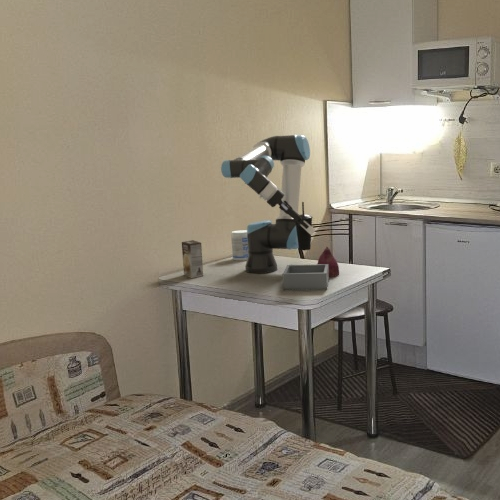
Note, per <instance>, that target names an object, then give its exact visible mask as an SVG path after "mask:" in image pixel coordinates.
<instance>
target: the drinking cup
mask: <svg viewBox="0 0 500 500" xmlns="http://www.w3.org/2000/svg"><path fill="white" fill-rule="evenodd" d="M304 203H305V202H304V201H302V202H301V211H302V214H299V216H300V217H301V218H302V219H304V220H305V221H306V222H307V223H308V224H309V225H310V226H311V227H313V216H311V215H309V214H305V204H304ZM295 223H296V231H297V238H298V246H299V248H298V250H299V251H310V250H311V245H312V235H310V234H309V233H308V232H307V231H306V230H305V229H304V228H303V227H302V226H300V225H299V226H298V223H297V222H296V221H295Z"/></svg>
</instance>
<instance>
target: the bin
mask: <svg viewBox="0 0 500 500" xmlns="http://www.w3.org/2000/svg"><path fill="white" fill-rule="evenodd" d="M329 282H330V277H329V266H328V264H317V263H316V264H315V263H314V264H287V265H286V267H285V268H284V270H283V273H282V286H283V287H282V288H283V291H327V290H328V288H327V287H329Z"/></svg>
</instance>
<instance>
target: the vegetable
mask: <svg viewBox="0 0 500 500" xmlns="http://www.w3.org/2000/svg"><path fill="white" fill-rule="evenodd" d="M316 264H328V266H329V278H334V277H337V276H339V275H340V267H339V264H338V261H337V260H336V258H335V256H334V255H333V253H332V252H331V249H330V248H329V247H328V246H326V247H325V248H324V249H323V251H322V252H321V254H320V256H319V257H318V260H317V263H316Z"/></svg>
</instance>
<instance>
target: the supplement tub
mask: <svg viewBox="0 0 500 500" xmlns="http://www.w3.org/2000/svg"><path fill="white" fill-rule="evenodd" d="M231 252H232V254H231V255H232V260H233V261H236V262H237V261H240V262H243V261H245V262H246V261H247V258H248V240H247V229H246V230H245V229H244V230H243V229H242V230H234V231H233V230H232V231H231Z"/></svg>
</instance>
